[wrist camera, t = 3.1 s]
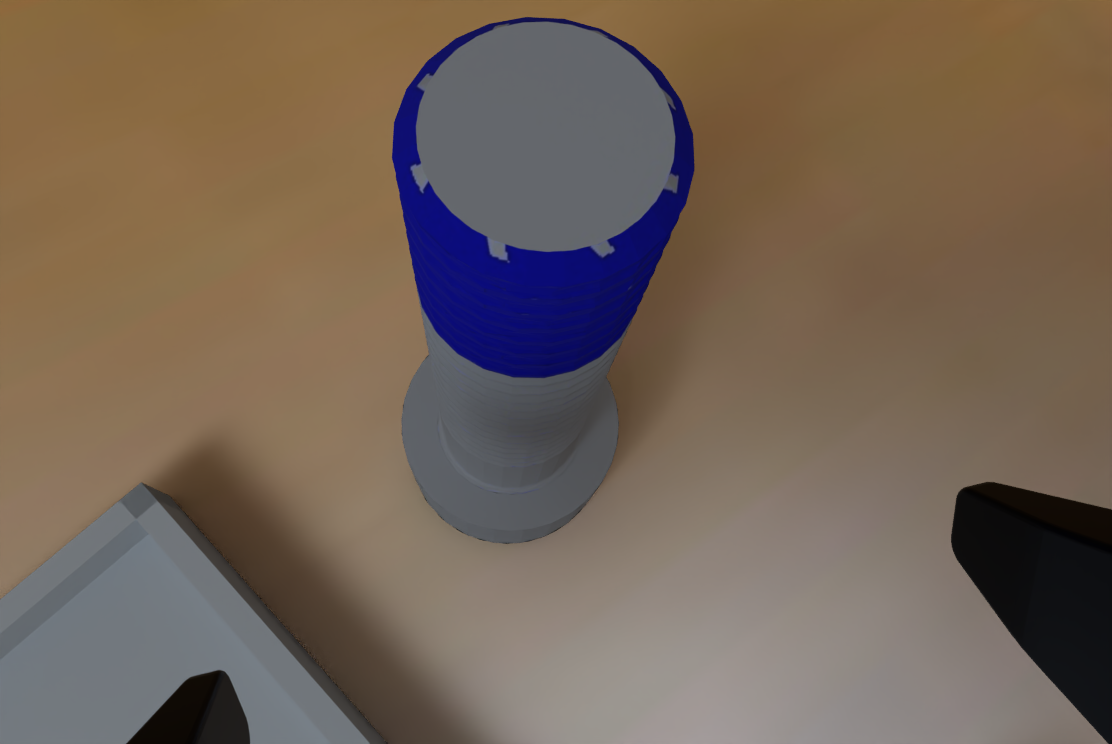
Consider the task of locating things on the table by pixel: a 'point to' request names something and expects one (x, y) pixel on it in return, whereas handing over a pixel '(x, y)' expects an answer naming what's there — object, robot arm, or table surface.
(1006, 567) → the robot arm
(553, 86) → the bolt
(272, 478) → the table surface
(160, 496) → the tray
